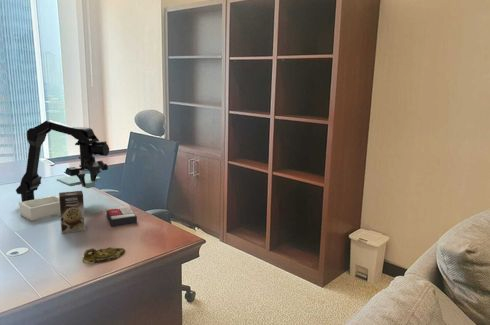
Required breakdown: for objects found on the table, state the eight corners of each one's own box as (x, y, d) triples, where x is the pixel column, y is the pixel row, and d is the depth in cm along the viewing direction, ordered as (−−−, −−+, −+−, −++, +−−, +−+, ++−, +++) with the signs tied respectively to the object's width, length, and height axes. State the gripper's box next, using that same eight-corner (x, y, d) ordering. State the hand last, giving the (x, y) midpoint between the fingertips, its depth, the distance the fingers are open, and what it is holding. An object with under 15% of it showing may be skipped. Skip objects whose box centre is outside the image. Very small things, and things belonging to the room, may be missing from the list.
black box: (129, 206, 181) (136, 214, 168) (130, 214, 181) (137, 223, 168) (105, 209, 175) (111, 218, 162) (106, 218, 176) (111, 227, 163)
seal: (119, 249, 145) (78, 260, 135) (118, 238, 144) (77, 247, 135) (129, 256, 138) (87, 267, 128) (128, 243, 137) (86, 254, 127)
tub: (20, 214, 174) (19, 202, 173) (55, 206, 186) (54, 195, 185) (31, 221, 167) (30, 208, 165) (67, 212, 179) (66, 200, 178)
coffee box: (61, 234, 154) (58, 196, 151) (61, 228, 160) (58, 192, 156) (85, 230, 159) (83, 194, 155) (84, 225, 164) (82, 189, 161)
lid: (57, 183, 185) (56, 179, 185) (88, 178, 198) (88, 173, 197) (74, 191, 175) (74, 185, 174) (106, 184, 187) (106, 179, 186)
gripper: (75, 159, 167) (78, 193, 170) (113, 154, 181) (114, 185, 184) (63, 156, 174) (66, 188, 177) (101, 151, 188) (102, 181, 191)
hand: (88, 186), depth 182 cm, fingers closed on lid, 4 cm apart
